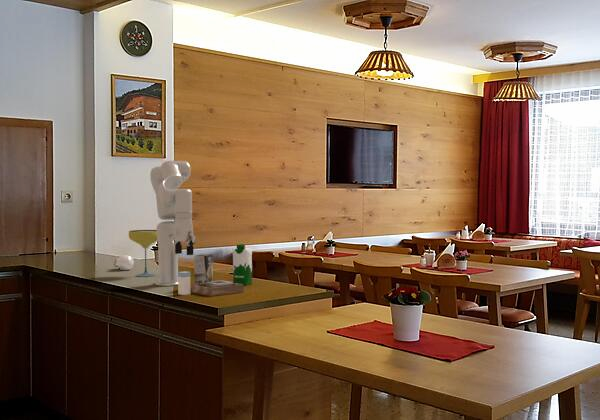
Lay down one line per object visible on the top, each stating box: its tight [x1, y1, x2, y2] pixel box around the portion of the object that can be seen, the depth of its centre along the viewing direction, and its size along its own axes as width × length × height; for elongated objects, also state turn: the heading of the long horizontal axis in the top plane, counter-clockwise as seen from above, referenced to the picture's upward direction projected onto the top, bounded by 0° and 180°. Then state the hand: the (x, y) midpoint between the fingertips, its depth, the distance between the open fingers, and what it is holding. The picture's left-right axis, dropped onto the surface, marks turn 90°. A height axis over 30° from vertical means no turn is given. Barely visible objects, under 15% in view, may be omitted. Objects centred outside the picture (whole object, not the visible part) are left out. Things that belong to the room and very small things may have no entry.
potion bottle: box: [114, 254, 135, 271], centre depth 401 cm, size 9×10×15 cm
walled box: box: [190, 283, 245, 297], centre depth 308 cm, size 16×18×4 cm
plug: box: [177, 271, 192, 296], centre depth 304 cm, size 4×4×10 cm
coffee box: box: [194, 253, 214, 285], centre depth 322 cm, size 9×6×16 cm
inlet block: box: [206, 279, 233, 288], centre depth 309 cm, size 9×9×4 cm
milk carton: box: [232, 244, 253, 287], centre depth 334 cm, size 9×9×20 cm
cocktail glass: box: [128, 229, 158, 278], centre depth 371 cm, size 18×18×25 cm
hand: (184, 254), depth 303 cm, fingers open, 9 cm apart
